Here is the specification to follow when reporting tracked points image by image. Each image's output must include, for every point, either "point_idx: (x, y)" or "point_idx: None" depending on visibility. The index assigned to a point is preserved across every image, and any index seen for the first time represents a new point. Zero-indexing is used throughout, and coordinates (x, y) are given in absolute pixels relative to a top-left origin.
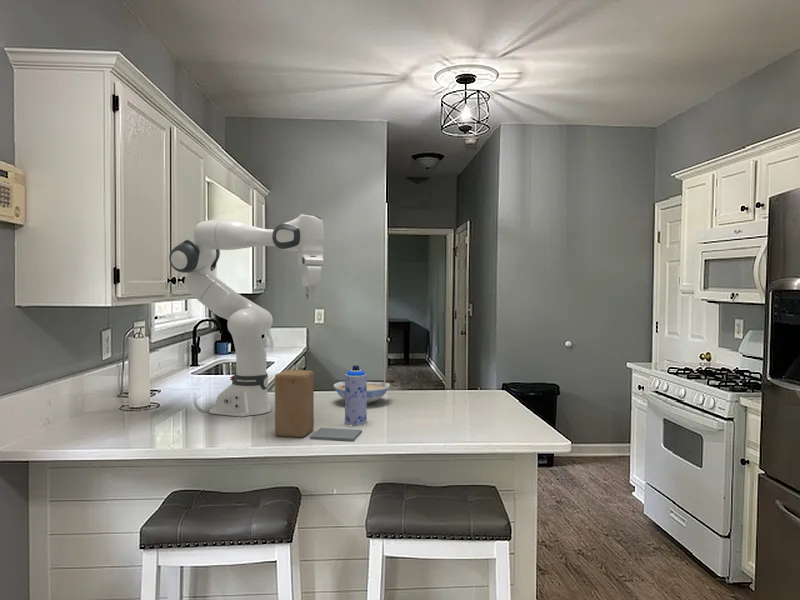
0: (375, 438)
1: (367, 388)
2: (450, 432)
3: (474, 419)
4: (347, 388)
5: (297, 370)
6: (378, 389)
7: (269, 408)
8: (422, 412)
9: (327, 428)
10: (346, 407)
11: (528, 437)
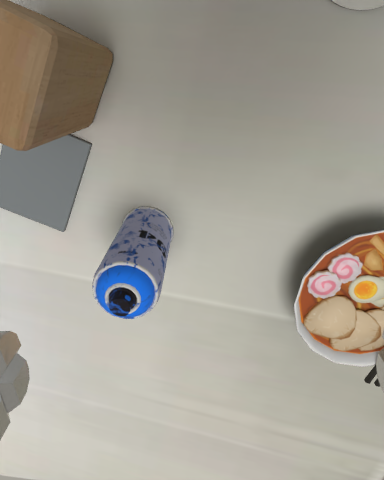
0: (16, 246)
1: (348, 310)
2: (52, 370)
3: (138, 424)
4: (114, 247)
5: (16, 84)
6: (297, 330)
7: (345, 1)
8: (213, 368)
9: (81, 160)
10: (130, 224)
11: (17, 448)
